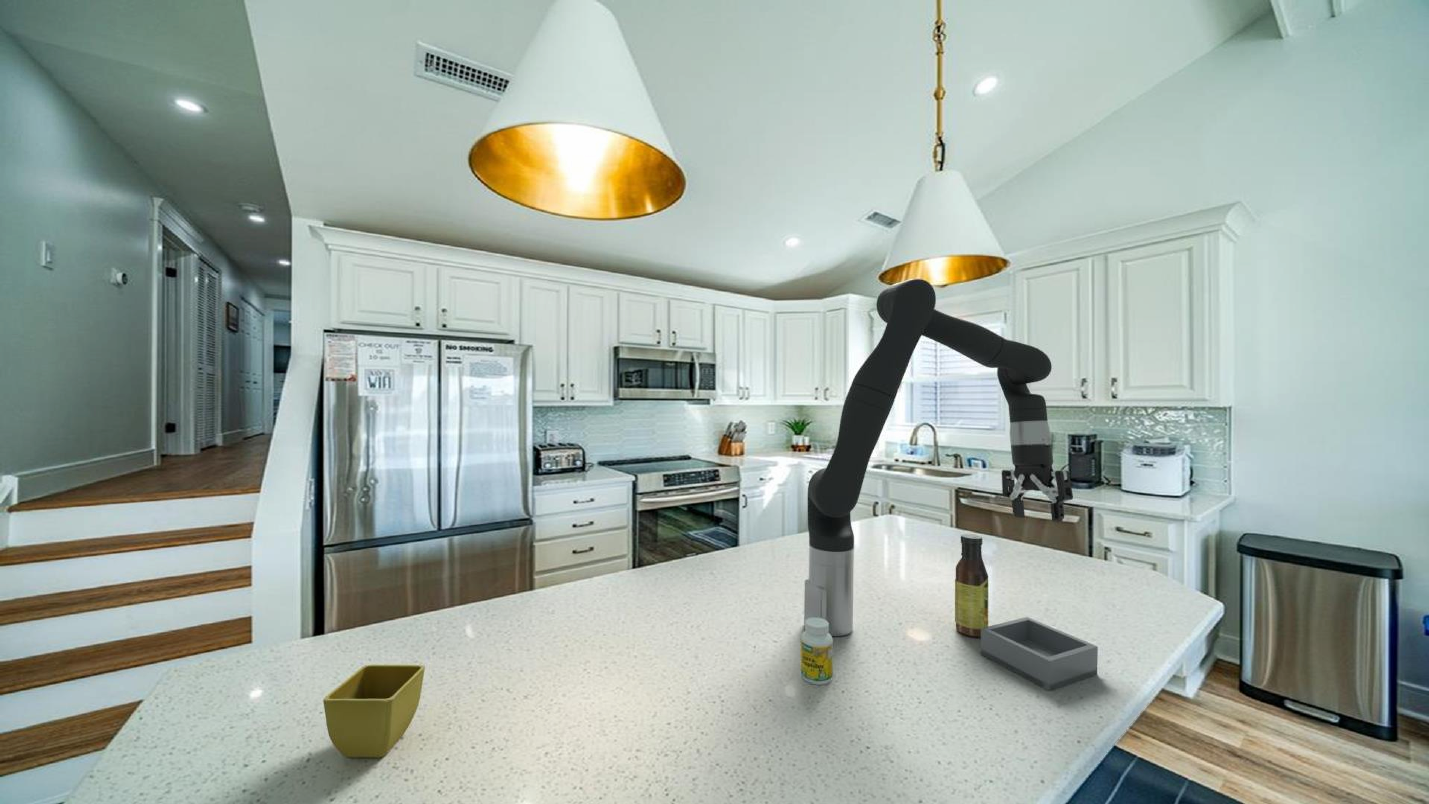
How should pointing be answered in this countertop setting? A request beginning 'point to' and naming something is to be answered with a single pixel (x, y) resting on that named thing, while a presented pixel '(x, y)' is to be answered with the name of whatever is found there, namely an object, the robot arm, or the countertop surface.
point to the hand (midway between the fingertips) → (1038, 519)
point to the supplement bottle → (816, 652)
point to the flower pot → (373, 708)
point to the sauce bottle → (971, 588)
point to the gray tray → (1039, 652)
